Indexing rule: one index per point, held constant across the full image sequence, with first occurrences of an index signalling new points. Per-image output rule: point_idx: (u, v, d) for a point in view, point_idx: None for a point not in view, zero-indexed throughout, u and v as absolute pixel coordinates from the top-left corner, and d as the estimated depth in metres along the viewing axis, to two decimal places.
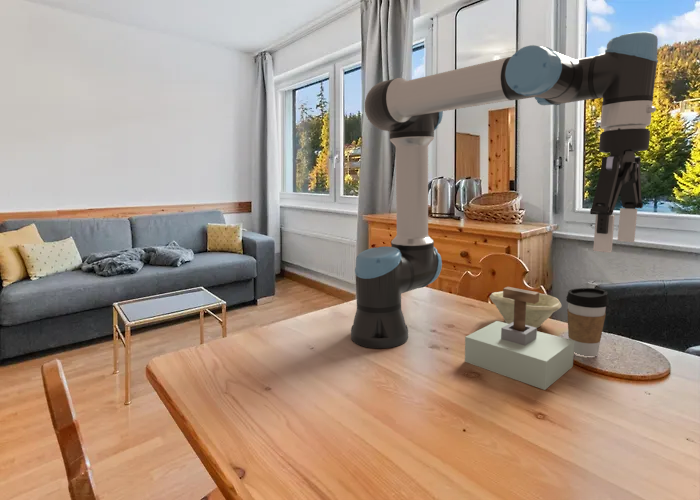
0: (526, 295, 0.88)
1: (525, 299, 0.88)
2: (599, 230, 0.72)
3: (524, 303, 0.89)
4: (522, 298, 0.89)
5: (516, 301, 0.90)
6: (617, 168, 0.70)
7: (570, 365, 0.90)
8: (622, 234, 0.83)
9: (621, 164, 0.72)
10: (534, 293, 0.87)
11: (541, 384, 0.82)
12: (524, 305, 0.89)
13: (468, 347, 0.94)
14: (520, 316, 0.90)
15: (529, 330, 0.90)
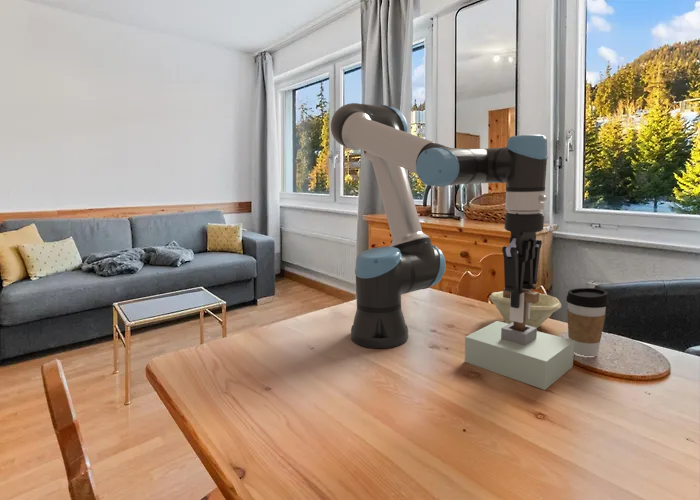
0: (526, 295, 0.88)
1: (525, 299, 0.88)
2: (512, 305, 0.88)
3: (524, 303, 0.89)
4: None
5: None
6: (515, 257, 0.84)
7: (570, 365, 0.90)
8: None
9: (519, 245, 0.85)
10: (534, 293, 0.87)
11: (541, 384, 0.82)
12: (524, 305, 0.89)
13: (468, 347, 0.94)
14: None
15: (529, 330, 0.90)
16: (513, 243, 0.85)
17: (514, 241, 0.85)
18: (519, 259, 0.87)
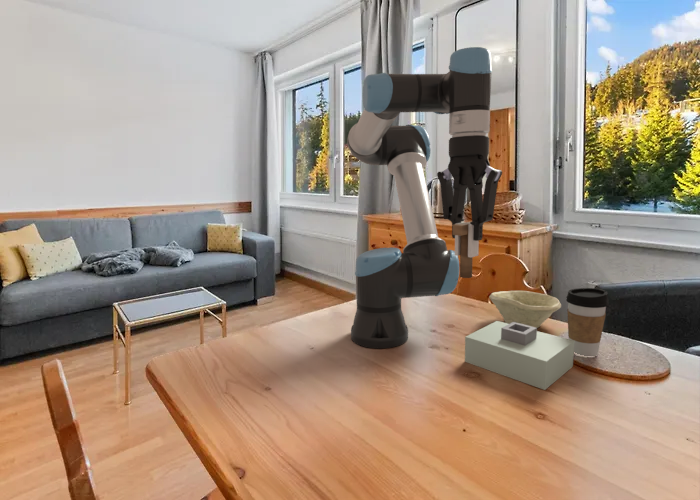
0: None
1: None
2: None
3: (461, 236, 0.83)
4: None
5: None
6: (440, 181, 0.85)
7: (570, 365, 0.90)
8: None
9: (450, 170, 0.83)
10: (457, 224, 0.82)
11: (541, 384, 0.82)
12: (462, 238, 0.84)
13: (468, 347, 0.94)
14: (460, 250, 0.85)
15: (529, 330, 0.90)
16: None
17: None
18: None
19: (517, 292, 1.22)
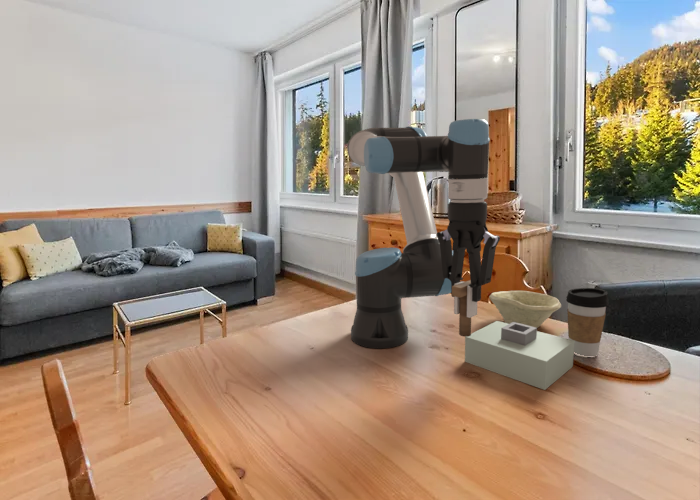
0: None
1: None
2: None
3: (461, 296, 0.86)
4: None
5: None
6: (440, 242, 0.88)
7: (570, 365, 0.90)
8: None
9: (449, 232, 0.86)
10: (456, 286, 0.84)
11: (541, 384, 0.82)
12: (461, 298, 0.86)
13: (468, 347, 0.94)
14: None
15: (529, 330, 0.90)
16: (447, 229, 0.87)
17: None
18: None
19: (517, 292, 1.22)
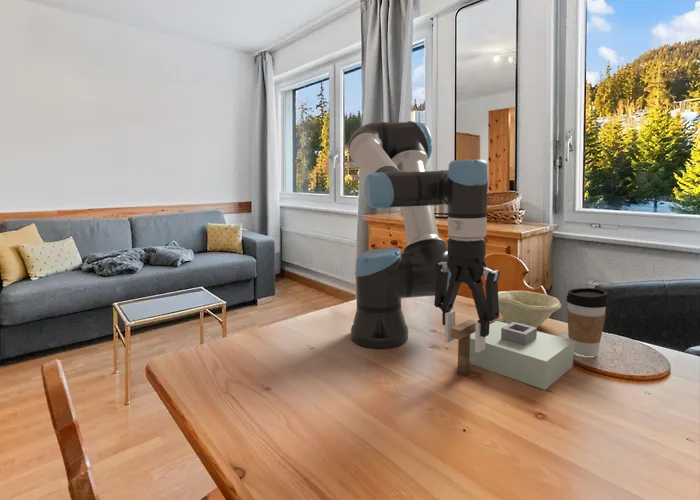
0: None
1: None
2: None
3: None
4: None
5: None
6: (437, 273, 0.89)
7: (570, 365, 0.90)
8: None
9: (448, 267, 0.87)
10: (455, 328, 0.86)
11: (541, 384, 0.82)
12: (459, 339, 0.87)
13: None
14: (458, 348, 0.89)
15: (529, 330, 0.90)
16: (446, 262, 0.88)
17: None
18: None
19: (517, 292, 1.22)
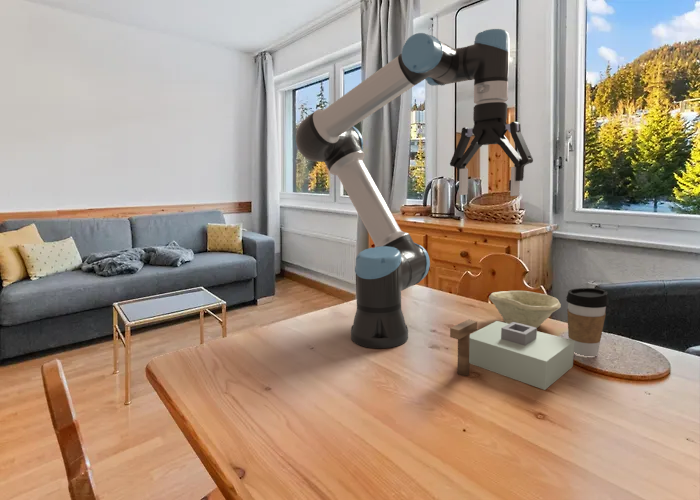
0: None
1: None
2: None
3: None
4: None
5: None
6: (461, 136, 1.03)
7: (570, 365, 0.90)
8: None
9: (472, 132, 1.00)
10: (454, 328, 0.86)
11: (541, 384, 0.82)
12: (459, 339, 0.88)
13: None
14: None
15: (529, 330, 0.90)
16: (472, 128, 1.01)
17: None
18: None
19: (517, 292, 1.22)
